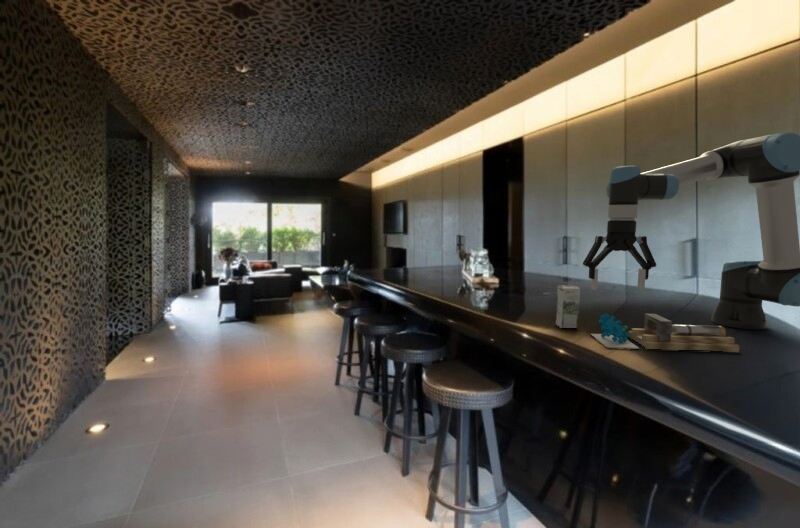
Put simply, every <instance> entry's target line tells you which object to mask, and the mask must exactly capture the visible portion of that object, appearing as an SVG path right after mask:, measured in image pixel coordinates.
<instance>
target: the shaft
mask: <svg viewBox="0 0 800 528" xmlns="http://www.w3.org/2000/svg"><path fill="white" fill-rule="evenodd" d="M726 334H727V330H726V328H725V326H724V325H704V324H703V325H700V324H699V325H697V324H696V325H695V324H694V325H692V324H672V329H671V335H682V336H717V337H726Z"/></svg>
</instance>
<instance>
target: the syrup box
mask: <svg viewBox="0 0 800 528" xmlns="http://www.w3.org/2000/svg"><path fill="white" fill-rule="evenodd" d="M556 292H557V294H556V295H557V296H556V313H555V325H556V326H557V327H558V326H559V327H558V328H560V329H561V328H578V327H579V315H580V314H579V313H580V302H581V301H580V299H581V288H580V287H578V286H576V285H557V291H556ZM578 329H579V328H578Z"/></svg>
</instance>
